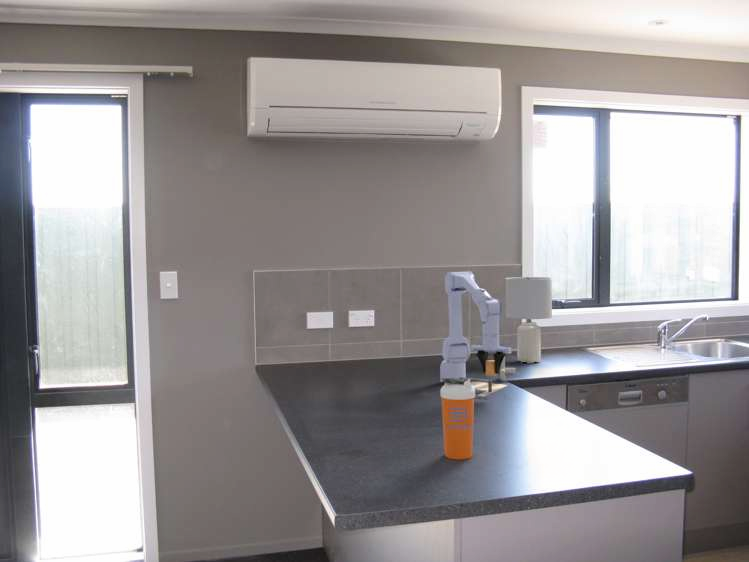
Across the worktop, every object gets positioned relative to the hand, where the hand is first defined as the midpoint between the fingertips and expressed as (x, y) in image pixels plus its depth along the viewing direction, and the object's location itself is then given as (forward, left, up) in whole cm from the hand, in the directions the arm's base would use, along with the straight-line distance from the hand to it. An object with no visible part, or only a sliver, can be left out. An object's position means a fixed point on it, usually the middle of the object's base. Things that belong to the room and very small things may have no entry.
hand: (491, 372), depth 247 cm
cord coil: (0, 0, -1) cm, 1 cm away
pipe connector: (-7, +26, -9) cm, 29 cm away
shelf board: (-8, +8, -9) cm, 15 cm away
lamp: (-16, +76, -9) cm, 78 cm away
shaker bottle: (+21, -66, -9) cm, 70 cm away
